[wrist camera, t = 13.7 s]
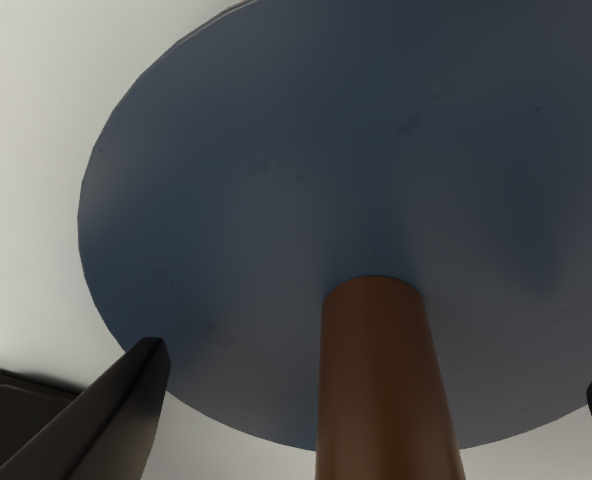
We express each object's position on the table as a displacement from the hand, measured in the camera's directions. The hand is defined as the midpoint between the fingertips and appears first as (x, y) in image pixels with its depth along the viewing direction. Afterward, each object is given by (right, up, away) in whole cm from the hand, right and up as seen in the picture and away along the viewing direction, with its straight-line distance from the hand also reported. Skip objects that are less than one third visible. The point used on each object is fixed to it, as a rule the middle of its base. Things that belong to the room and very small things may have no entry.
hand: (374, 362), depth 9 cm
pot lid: (0, +1, +1) cm, 2 cm away
